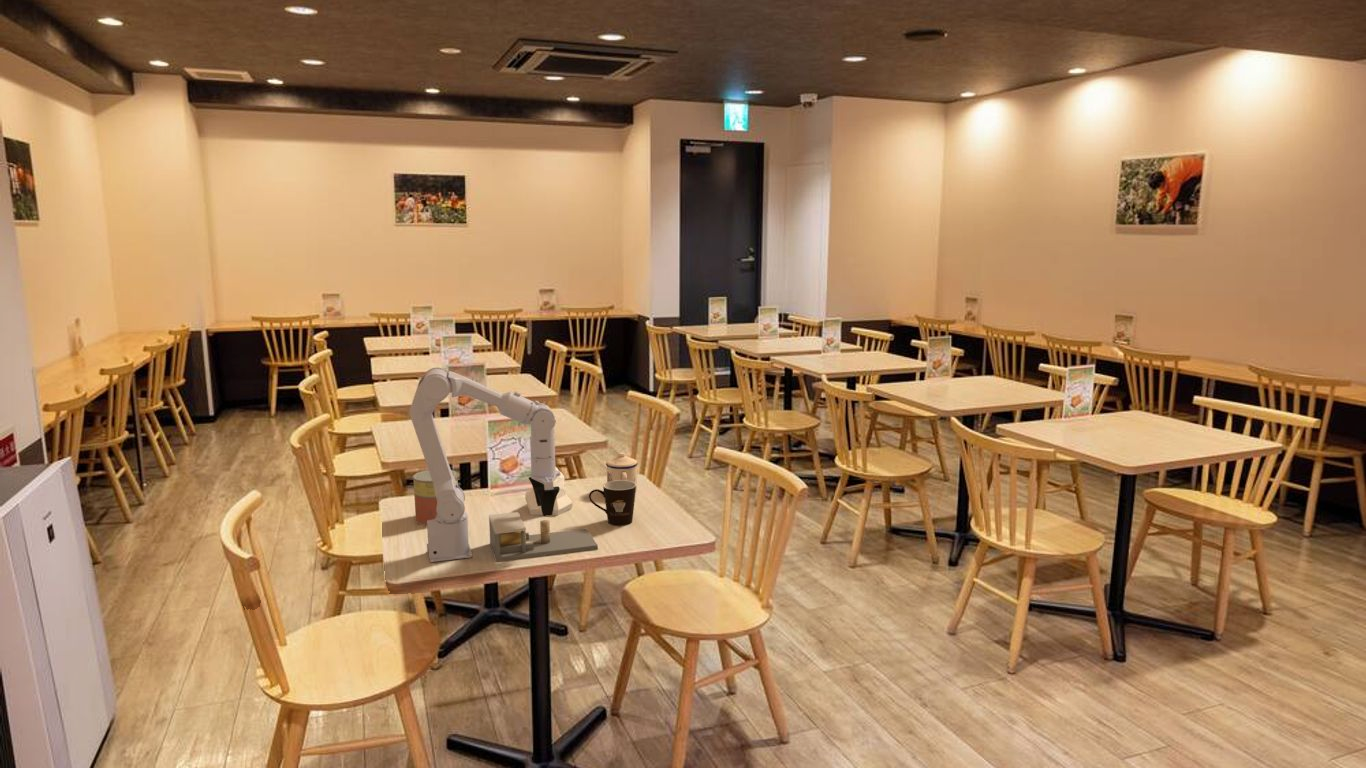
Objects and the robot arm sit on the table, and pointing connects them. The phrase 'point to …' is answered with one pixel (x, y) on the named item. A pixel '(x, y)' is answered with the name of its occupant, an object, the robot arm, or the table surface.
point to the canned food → (425, 496)
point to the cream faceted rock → (561, 500)
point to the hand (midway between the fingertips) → (544, 510)
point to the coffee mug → (618, 501)
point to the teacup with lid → (622, 469)
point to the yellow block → (515, 537)
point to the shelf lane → (534, 539)
